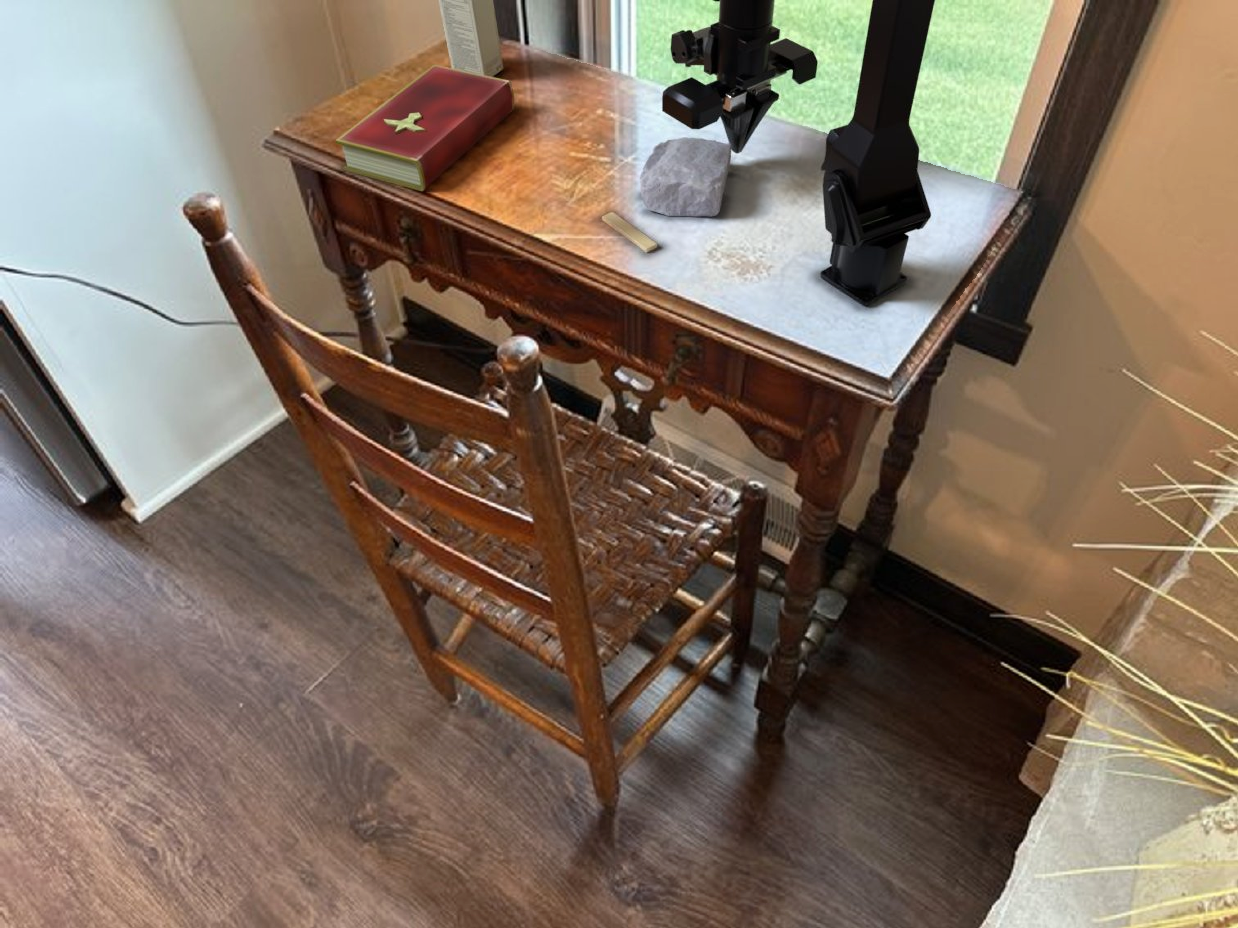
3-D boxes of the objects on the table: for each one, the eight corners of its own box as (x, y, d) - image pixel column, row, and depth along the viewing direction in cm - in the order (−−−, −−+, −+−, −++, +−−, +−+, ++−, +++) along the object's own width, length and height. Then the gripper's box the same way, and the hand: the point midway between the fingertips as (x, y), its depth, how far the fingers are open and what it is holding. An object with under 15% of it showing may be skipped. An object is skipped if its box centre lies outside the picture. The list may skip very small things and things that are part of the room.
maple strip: (657, 247, 99) (657, 243, 99) (646, 252, 98) (646, 249, 98) (612, 215, 103) (612, 211, 103) (602, 220, 103) (601, 216, 102)
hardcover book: (515, 110, 120) (512, 79, 116) (425, 192, 107) (418, 159, 104) (439, 93, 123) (433, 62, 120) (343, 170, 111) (334, 138, 108)
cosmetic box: (504, 70, 127) (492, -23, 118) (484, 83, 125) (471, -10, 116) (469, 60, 130) (455, -32, 120) (449, 72, 127) (433, -20, 118)
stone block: (639, 227, 104) (726, 218, 102) (630, 189, 101) (719, 179, 98) (656, 174, 112) (736, 165, 110) (648, 138, 109) (731, 127, 106)
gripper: (758, -30, 104) (748, 100, 116) (629, 18, 98) (632, 151, 109) (829, 1, 99) (811, 135, 110) (697, 55, 92) (693, 191, 103)
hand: (736, 151), depth 109 cm, fingers closed
